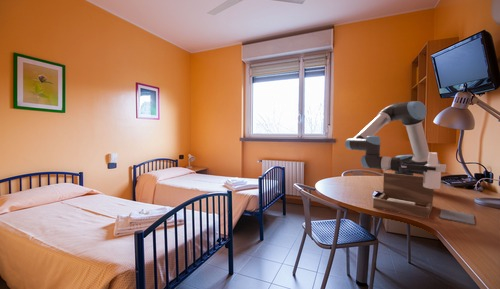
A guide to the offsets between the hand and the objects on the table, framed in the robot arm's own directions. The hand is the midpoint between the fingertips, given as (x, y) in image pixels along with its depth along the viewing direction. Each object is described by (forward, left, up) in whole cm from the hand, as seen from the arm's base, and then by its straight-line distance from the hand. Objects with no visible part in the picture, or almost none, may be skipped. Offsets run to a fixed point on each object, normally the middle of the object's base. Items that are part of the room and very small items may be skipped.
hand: (445, 168), depth 108 cm
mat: (-2, +5, -24) cm, 24 cm away
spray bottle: (0, -5, -11) cm, 12 cm away
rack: (-2, -17, -24) cm, 29 cm away
